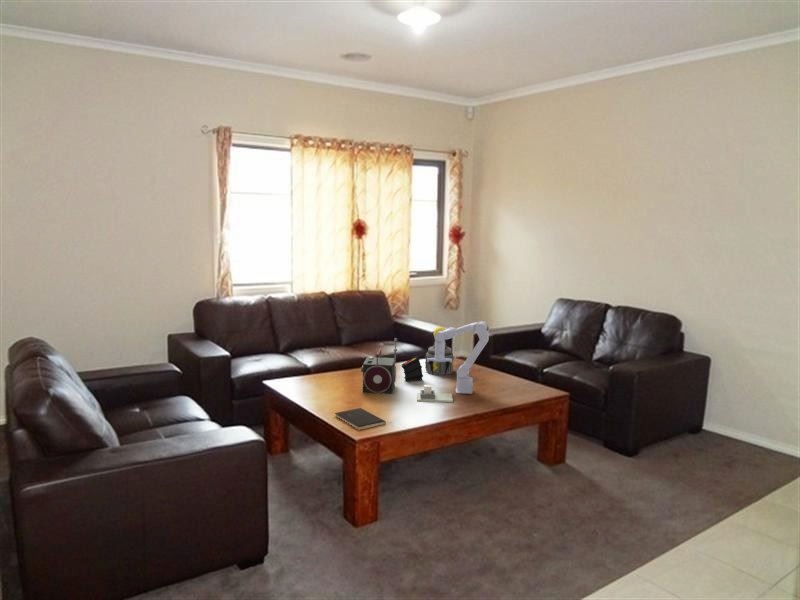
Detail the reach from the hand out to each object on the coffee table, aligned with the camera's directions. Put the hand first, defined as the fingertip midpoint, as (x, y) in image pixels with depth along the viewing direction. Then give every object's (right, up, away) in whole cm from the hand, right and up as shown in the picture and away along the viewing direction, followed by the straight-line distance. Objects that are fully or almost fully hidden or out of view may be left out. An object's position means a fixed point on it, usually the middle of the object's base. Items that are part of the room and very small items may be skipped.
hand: (439, 373), depth 353 cm
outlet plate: (-4, -12, -16) cm, 21 cm away
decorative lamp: (+3, -4, +40) cm, 40 cm away
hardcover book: (-44, -18, -53) cm, 71 cm away
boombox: (-35, -9, -1) cm, 36 cm away
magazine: (-16, -7, +18) cm, 25 cm away
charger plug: (-8, -11, -16) cm, 21 cm away
